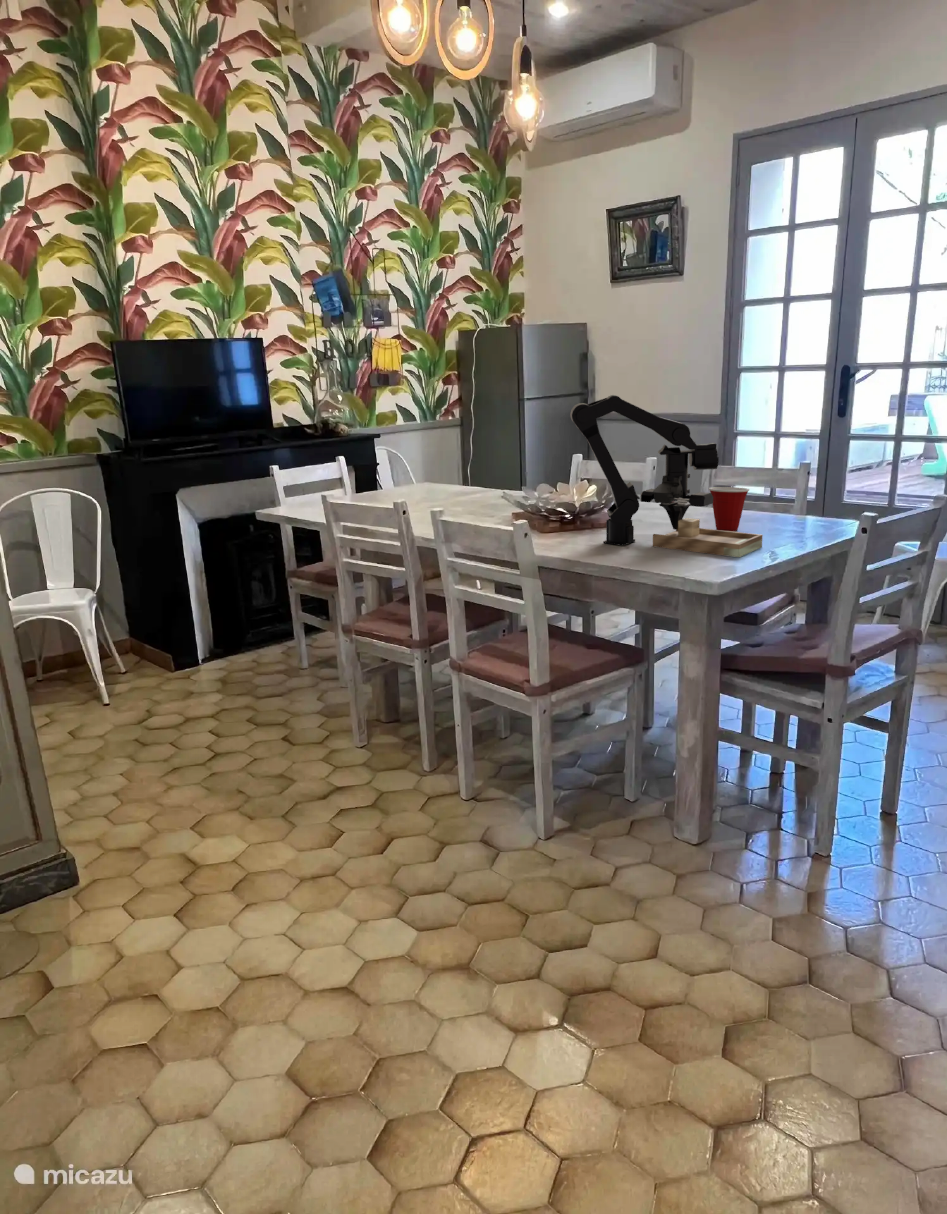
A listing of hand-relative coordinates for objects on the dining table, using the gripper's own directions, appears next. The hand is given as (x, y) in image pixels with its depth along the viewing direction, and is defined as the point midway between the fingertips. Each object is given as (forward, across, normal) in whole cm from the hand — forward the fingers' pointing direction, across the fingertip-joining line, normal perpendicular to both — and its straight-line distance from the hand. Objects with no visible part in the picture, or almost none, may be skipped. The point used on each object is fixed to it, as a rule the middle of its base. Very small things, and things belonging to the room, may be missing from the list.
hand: (675, 529), depth 223 cm
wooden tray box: (+3, +10, -3) cm, 11 cm away
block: (+1, +4, 0) cm, 4 cm away
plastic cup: (+3, +6, +19) cm, 20 cm away
